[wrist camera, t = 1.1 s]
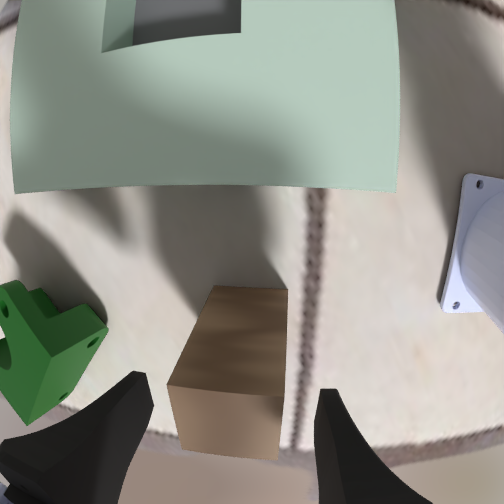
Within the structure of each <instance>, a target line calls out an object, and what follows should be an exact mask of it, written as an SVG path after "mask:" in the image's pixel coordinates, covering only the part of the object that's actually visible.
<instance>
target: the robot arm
mask: <svg viewBox="0 0 504 504" xmlns="http://www.w3.org/2000/svg"><path fill="white" fill-rule="evenodd" d="M478 180H479V181H480V186H479V187H478V188H477V186H476V184H477V181H478ZM455 302H457V304H456V305H455V306H453V304H454V303H455ZM440 307H441V309H442V311H443V312H445V313H461V312H485V313H486V314H487V315H488V316H489V317H490V319H491V320H492V321H493V322H494V323H495V324H496V325H497V327H498V328H499V329H500V330H501V331H502V333H503V334H504V179H499V178H494V177H489V176H483V175H478V174H472V173H468V174H466V175H465V176H464V178H463V181H462V191H461V199H460V207H459V214H458V221H457V227H456V233H455V239H454V244H453V249H452V255H451V259H450V264H449V269H448V273H447V278H446V282H445V286H444V290H443V294H442V298H441V302H440ZM153 407H154V403H153V400H152V396H151V392H150V388H149V384H148V380H147V376H146V373H143V372H137V371H132V372H131V373H129V374H128V375H127V376H126V377H124V378H123V379H122V380H121V381H120V382H118V383H117V384H116V385H115V386H113V387H112V388H111V389H110V390H108V391H107V392H106V393H105V394H103V395H102V396H101V397H99V398H98V399H97V400H95V401H94V402H92V403H91V404H89V405H88V406H87V407H85V408H84V409H82V410H81V411H79V412H77V413H76V414H74V415H72V416H70V417H69V418H67V419H65V420H63V421H61V422H59V423H57V424H54V425H52V426H50V427H47V428H45V429H43V430H40V431H37V432H34V433H31V434H27V435H24V436H19V437H15V438H10V439H5V440H4V441H3V442H2V443H1V444H0V473H1V474H2V475H3V476H4V477H5V478H6V480H7V481H8V482H9V483H10V485H9V486H8V488H7V487H6V486H5V485H4V484H2V483H1V482H0V504H118V499H119V496H120V492H121V489H122V485H123V482H124V479H125V476H126V472H127V470H128V467H129V465H130V462H131V460H132V458H133V456H134V454H135V452H136V450H137V448H138V445H139V443H140V441H141V439H142V437H143V435H144V433H145V431H146V428H147V426H148V424H149V421H150V417H151V414H152V411H153ZM314 447H315V456H316V466H317V475H318V485H319V504H433V503H432V502H430V501H429V500H427V499H426V498H424V497H423V496H421V495H419V494H418V493H417V492H415V491H414V490H412V489H411V488H410V487H409V486H408V485H406V484H405V483H404V482H403V481H402V480H400V479H399V478H398V477H397V476H396V475H395V474H394V473H393V472H392V471H391V470H390V469H389V468H388V467H387V466H386V465H385V464H384V463H383V462H382V461H381V459H380V458H379V457H378V456H377V455H376V454H375V452H374V451H373V450H372V449H371V447H370V446H369V445H368V443H367V442H366V440H365V439H364V437H363V436H362V435H361V433H360V431H359V430H358V428H357V427H356V425H355V423H354V422H353V420H352V418H351V417H350V415H349V413H348V411H347V409H346V407H345V405H344V403H343V401H342V399H341V397H340V395H339V392H338V390H337V389H320V394H319V400H318V405H317V410H316V415H315V420H314Z"/></svg>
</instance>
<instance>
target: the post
mask: <svg viewBox="0 0 504 504" xmlns="http://www.w3.org/2000/svg"><path fill="white" fill-rule="evenodd" d="M287 310H288V289H270V288H250V287H231V286H214V287H213V289H212V291H211V293H210V295H209V297H208V299H207V301H206V303H205V305H204V307H203V309H202V311H201V314H200V316H199V318H198V320H197V322H196V324H195V326H194V328H193V330H192V332H191V334H190V336H189V339H188V341H187V343H186V345H185V347H184V349H183V351H182V353H181V355H180V357H179V360H178V362H177V364H176V366H175V368H174V370H173V372H172V374H171V376H170V379H169V381H168V383H167V389H168V393H169V398H170V402H171V407H172V411H173V415H174V420H175V424H176V428H177V432H178V436H179V440H180V443H181V447H182V449H183V450H189V451H195V452H201V453H208V454H215V455H223V456H231V457H241V458H252V459H265V460H278V451H279V443H280V434H281V425H282V415H283V405H284V393H285V371H286V344H287Z"/></svg>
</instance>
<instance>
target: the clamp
mask: <svg viewBox="0 0 504 504" xmlns="http://www.w3.org/2000/svg"><path fill="white" fill-rule="evenodd" d="M0 326H1V328H2V330H3V332H4V334H5V338H3V339H0V391H1V392H2V394H3V395H4V396H5V398H6V399H7V401H8V402H9V403H10V405H11V406H12V407H13V409H14V410H15V411H16V413H17V414H18V415H19V417H20V418H21V419H22V421H23V422H24V423H25V424H26V426H28V425H29V424H31V423H32V422H33V421H35V420H36V419H38V418H39V417H41V416H42V415H43V414H45V413H46V412H48V411H49V410H51V409H52V408H53V407H55V406H56V405H58V404H59V403H60V402H62V401H63V400H64V399H65V398H66V397H68V396H69V395H70V393H71V392H72V391H73V390H74V388H75V386H76V385H77V383H78V381H79V379H80V378H81V376H82V374H83V373H84V371H85V369H86V367H87V366H88V364H89V362H90V361H91V359H92V357H93V356H94V354H95V352H96V351H97V349H98V348H99V346H100V344H101V343H102V341H103V339H104V338H105V336H106V335H107V333H108V330H109V329H108V328H107V326H106V325H105V324H104V323H103V322H102V321H101V319H100V318H99V317H98V316H97V315H96V314H95V312H94V311H93V310H92V309H91V308H90V306H89V305H88V304H81V305H79V306H76V307H74V308H72V309H70V310H68V311H65V312H63V313H61V314H60V313H59V311H58V310H57V309H56V307H55V306H54V305H53V303H52V302H51V300H50V299H49V298H48V296H47V295H46V293H45V292H44V291H43V290H42V289H41V288H38V289H35V290H32V291H29V292H28V291H27V289H26V288H25V286H24V285H23V284H22V283H21V282H20V281H18V280H14V281H11V282H8V283H5V284H2V285H0Z"/></svg>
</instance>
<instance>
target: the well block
mask: <svg viewBox="0 0 504 504" xmlns="http://www.w3.org/2000/svg"><path fill="white" fill-rule="evenodd" d="M399 134H400V68H399V47H398V33H397V21H396V11H395V2H394V0H22V3H21V8H20V13H19V19H18V25H17V31H16V38H15V46H14V55H13V65H12V78H11V98H10V137H11V158H12V172H13V183H14V192H15V194H21V193H32V192H43V191H55V190H69V189H84V188H102V187H124V186H154V185H262V186H293V187H316V188H334V189H350V190H364V191H378V192H390V193H396V185H397V172H398V157H399Z"/></svg>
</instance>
